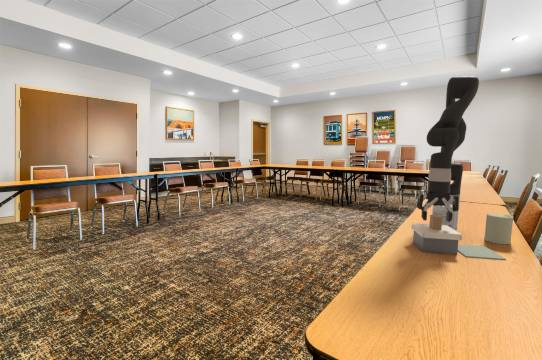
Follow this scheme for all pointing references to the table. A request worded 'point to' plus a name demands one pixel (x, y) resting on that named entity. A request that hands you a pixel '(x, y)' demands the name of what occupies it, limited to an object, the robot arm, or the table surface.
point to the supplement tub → (442, 212)
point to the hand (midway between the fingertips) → (436, 220)
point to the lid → (436, 229)
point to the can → (498, 228)
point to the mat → (478, 252)
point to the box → (435, 244)
